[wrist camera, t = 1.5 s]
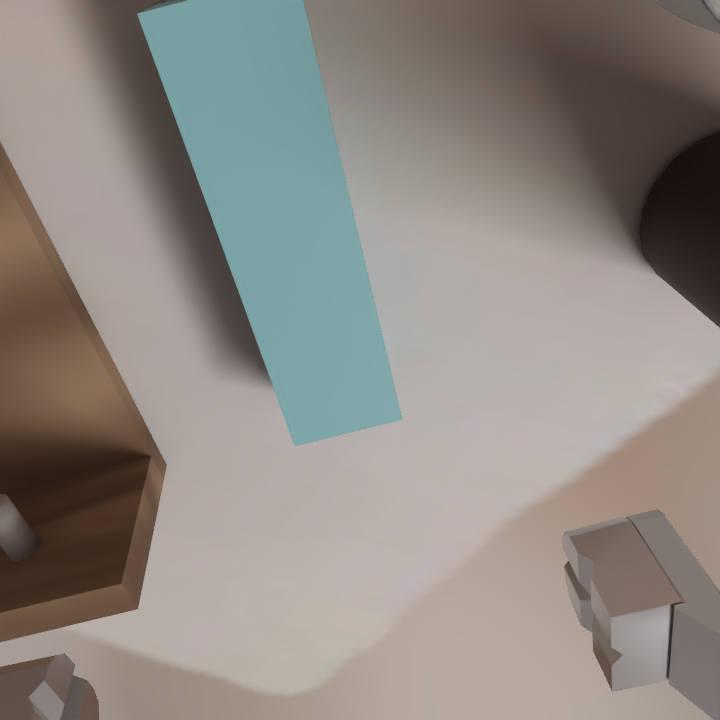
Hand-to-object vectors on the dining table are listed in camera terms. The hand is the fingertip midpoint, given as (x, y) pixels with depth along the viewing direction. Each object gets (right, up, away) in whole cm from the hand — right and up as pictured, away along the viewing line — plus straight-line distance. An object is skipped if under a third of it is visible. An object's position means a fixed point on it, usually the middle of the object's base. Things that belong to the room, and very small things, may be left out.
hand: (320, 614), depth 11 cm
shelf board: (-2, +10, +15) cm, 18 cm away
